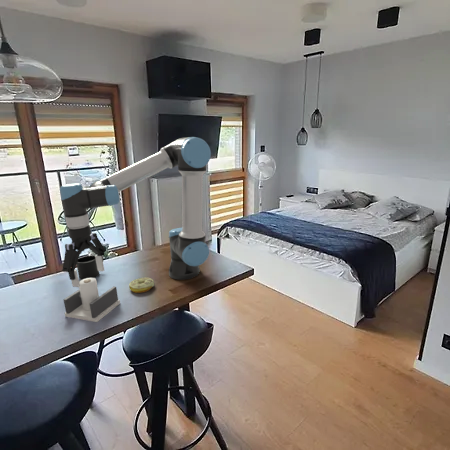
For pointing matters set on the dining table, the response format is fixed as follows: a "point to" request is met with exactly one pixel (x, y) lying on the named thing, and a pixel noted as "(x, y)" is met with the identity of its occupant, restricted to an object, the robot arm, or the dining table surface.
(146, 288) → the decorated donut
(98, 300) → the cradle
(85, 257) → the mug
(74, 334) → the dining table surface
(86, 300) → the roll
